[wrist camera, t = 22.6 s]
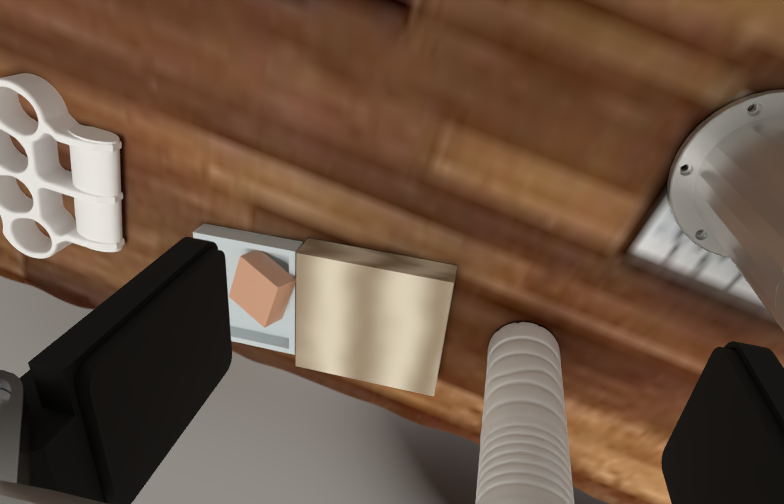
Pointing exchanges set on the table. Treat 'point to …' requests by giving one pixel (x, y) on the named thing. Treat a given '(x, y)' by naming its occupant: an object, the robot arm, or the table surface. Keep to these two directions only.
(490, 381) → the water bottle
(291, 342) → the box
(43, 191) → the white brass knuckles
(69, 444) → the robot arm
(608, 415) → the table surface
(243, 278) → the terracotta tile
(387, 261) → the birch plate
